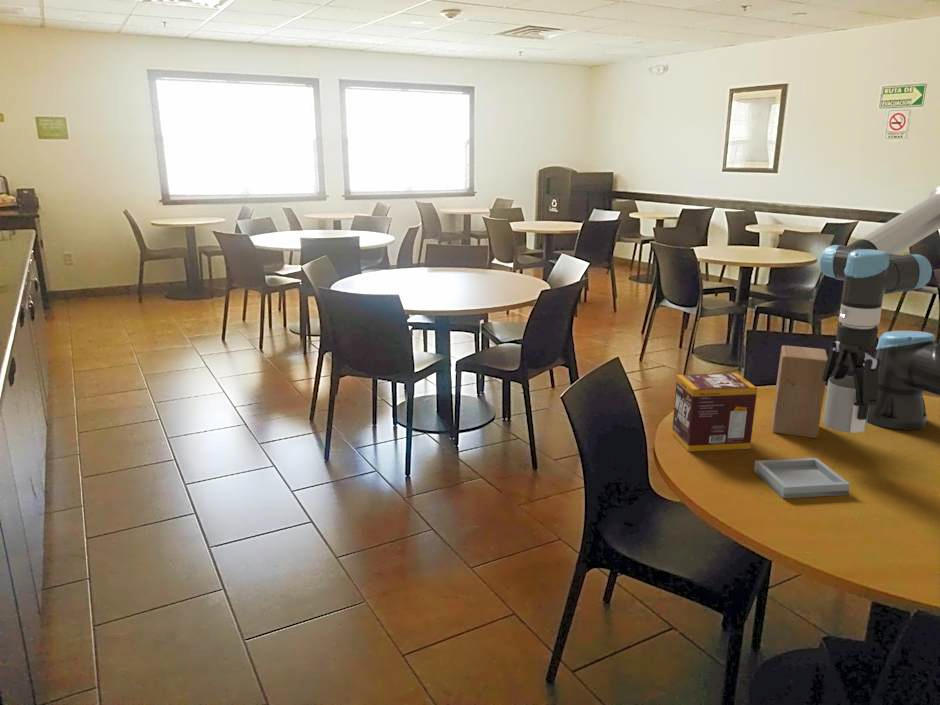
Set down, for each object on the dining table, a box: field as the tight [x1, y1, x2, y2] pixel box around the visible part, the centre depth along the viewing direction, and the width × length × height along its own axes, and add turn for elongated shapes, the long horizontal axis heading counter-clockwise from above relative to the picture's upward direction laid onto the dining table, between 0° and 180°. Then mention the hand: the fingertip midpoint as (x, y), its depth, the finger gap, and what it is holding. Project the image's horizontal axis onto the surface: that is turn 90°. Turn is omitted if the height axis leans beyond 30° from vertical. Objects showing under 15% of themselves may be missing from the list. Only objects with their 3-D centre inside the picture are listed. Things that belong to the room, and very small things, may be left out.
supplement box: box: [671, 372, 758, 452], centre depth 163 cm, size 10×15×16 cm
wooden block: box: [771, 345, 828, 439], centre depth 169 cm, size 10×10×20 cm
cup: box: [822, 375, 869, 434], centre depth 150 cm, size 8×8×10 cm
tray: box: [753, 457, 851, 499], centre depth 145 cm, size 14×12×2 cm
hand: (843, 423), depth 152 cm, fingers closed on cup, 8 cm apart
